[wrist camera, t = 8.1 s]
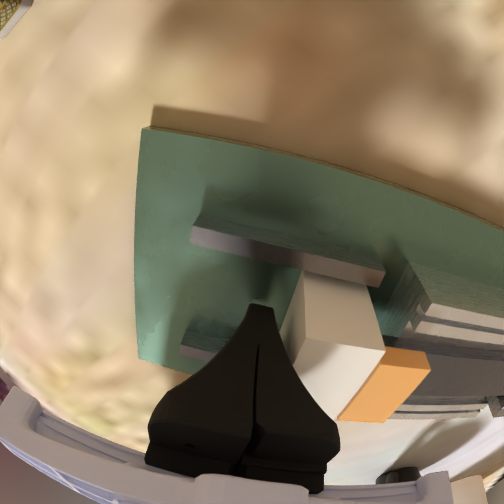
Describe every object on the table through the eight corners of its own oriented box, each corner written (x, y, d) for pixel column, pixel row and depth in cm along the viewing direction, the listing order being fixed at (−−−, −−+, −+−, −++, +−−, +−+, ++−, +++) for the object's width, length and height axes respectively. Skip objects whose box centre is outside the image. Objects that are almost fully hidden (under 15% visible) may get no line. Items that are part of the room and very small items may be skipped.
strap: (511, 390, 14) (516, 402, 13) (336, 381, 14) (337, 400, 13) (548, 345, 12) (556, 357, 11) (375, 316, 12) (381, 337, 11)
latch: (366, 359, 16) (377, 428, 12) (274, 343, 16) (268, 417, 12) (407, 291, 14) (438, 361, 10) (303, 266, 13) (305, 342, 9)
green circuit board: (477, 398, 19) (491, 438, 15) (142, 349, 19) (118, 401, 15) (572, 266, 12) (605, 301, 8) (149, 126, 12) (93, 145, 8)
